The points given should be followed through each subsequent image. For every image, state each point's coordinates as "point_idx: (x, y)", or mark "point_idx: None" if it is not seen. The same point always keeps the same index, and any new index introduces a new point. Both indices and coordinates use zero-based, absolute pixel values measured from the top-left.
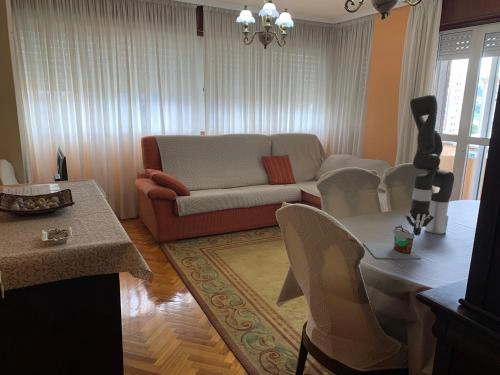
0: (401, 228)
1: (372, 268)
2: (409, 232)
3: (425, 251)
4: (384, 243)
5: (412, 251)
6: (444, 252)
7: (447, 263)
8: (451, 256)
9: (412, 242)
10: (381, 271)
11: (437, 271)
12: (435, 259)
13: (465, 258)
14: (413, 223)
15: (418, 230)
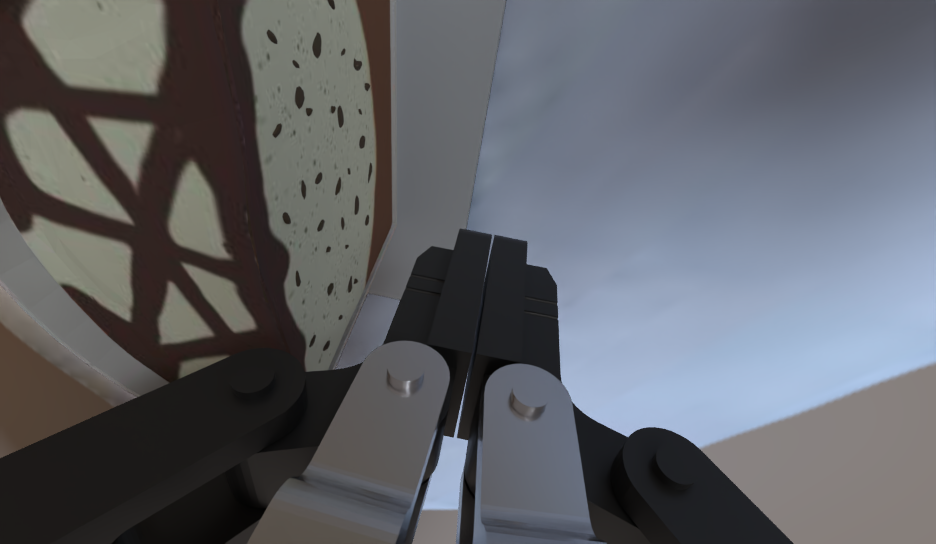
0: (158, 46)
1: (39, 337)
2: (277, 333)
3: (659, 156)
4: None
5: (461, 170)
6: (873, 223)
7: (621, 394)
8: (820, 315)
9: (347, 331)
10: (97, 374)
11: (447, 443)
12: (587, 329)
13: (906, 370)
14: (240, 540)
15: (465, 389)
